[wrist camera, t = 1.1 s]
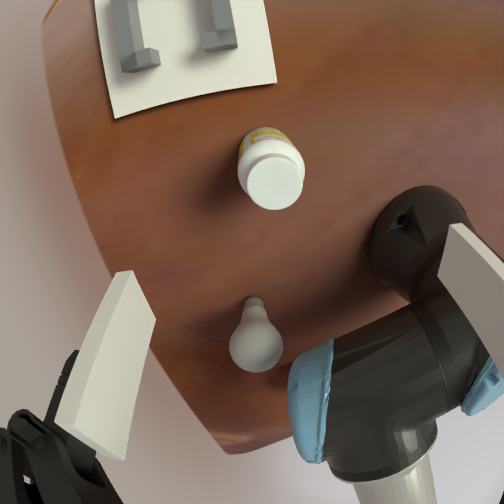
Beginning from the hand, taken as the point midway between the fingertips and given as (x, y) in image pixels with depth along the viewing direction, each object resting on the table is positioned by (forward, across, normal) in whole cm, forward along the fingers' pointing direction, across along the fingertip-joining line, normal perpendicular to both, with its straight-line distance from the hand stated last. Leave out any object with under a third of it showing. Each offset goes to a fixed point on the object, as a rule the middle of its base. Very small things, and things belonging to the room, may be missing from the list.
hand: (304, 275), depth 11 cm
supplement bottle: (+20, 0, 0) cm, 20 cm away
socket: (+20, +6, -16) cm, 26 cm away
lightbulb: (+20, +4, +19) cm, 28 cm away
